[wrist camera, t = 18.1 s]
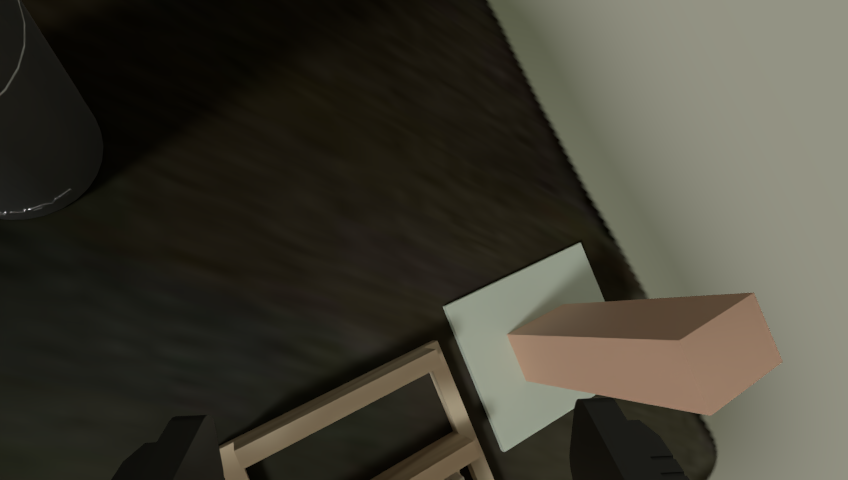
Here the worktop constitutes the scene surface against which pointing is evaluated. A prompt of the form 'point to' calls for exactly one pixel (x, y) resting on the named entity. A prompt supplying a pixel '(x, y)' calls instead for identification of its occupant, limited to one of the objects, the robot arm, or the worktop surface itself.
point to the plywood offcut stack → (455, 476)
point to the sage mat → (491, 349)
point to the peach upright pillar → (651, 349)
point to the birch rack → (412, 476)
